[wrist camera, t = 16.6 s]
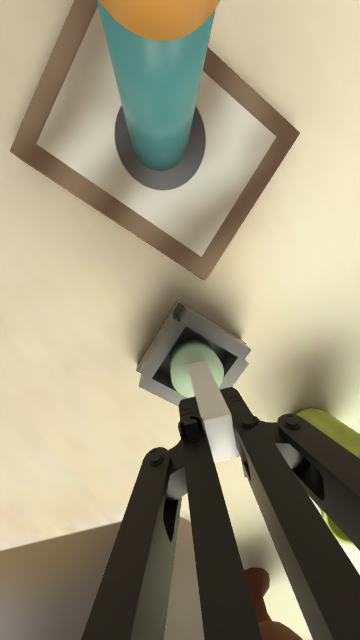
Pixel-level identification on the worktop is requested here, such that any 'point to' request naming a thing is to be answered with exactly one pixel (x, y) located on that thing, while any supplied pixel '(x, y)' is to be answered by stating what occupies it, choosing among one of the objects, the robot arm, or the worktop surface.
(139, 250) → the worktop surface
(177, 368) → the button
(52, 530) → the worktop surface
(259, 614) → the ice cream bowl
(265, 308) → the worktop surface
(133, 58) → the orange-topped post
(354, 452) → the plant pot
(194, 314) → the button housing
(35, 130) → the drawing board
